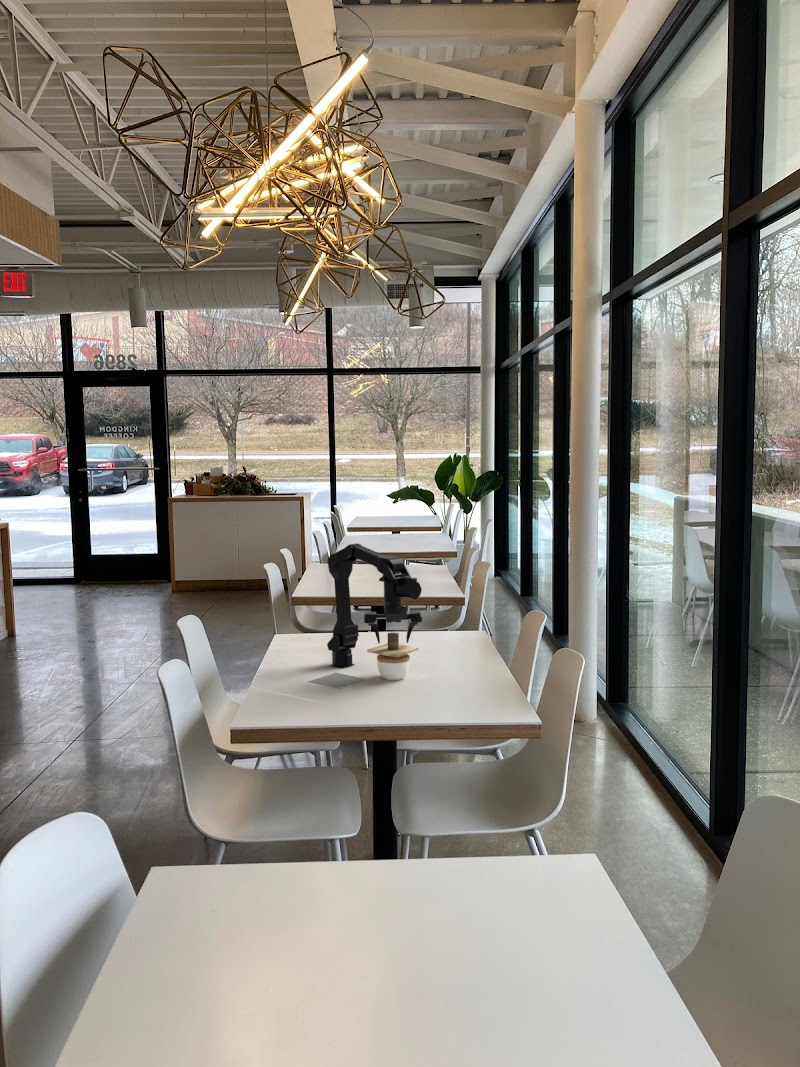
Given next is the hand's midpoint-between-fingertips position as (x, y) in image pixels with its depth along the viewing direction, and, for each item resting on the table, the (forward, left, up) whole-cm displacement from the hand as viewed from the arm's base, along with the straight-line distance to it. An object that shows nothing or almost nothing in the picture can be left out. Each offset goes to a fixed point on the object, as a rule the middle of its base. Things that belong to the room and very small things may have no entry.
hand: (393, 643), depth 291 cm
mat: (-13, -13, -12) cm, 22 cm away
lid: (0, 0, -3) cm, 3 cm away
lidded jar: (0, 0, -12) cm, 12 cm away
